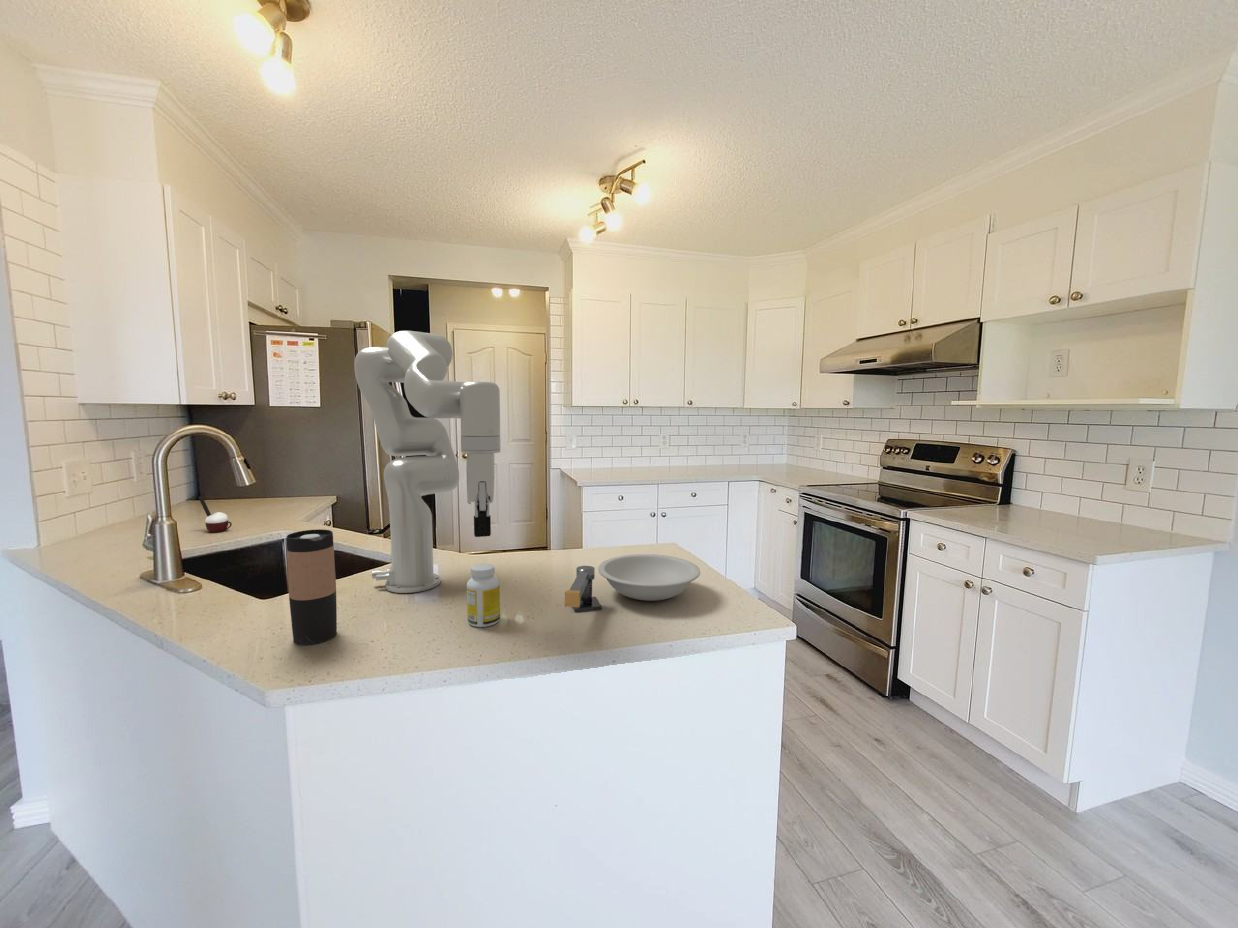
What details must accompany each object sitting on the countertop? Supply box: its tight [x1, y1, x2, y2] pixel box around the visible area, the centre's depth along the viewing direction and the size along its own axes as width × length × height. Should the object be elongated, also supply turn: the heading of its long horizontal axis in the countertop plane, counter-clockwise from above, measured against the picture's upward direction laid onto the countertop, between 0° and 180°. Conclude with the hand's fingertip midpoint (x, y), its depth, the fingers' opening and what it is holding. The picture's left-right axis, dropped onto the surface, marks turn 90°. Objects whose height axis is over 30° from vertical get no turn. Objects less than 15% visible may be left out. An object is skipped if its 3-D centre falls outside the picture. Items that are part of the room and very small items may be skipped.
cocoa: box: [198, 496, 233, 534], centre depth 177 cm, size 10×6×12 cm, turn 73°
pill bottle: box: [466, 563, 501, 628], centre depth 105 cm, size 6×6×12 cm
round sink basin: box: [597, 553, 701, 602], centre depth 122 cm, size 24×24×7 cm
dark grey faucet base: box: [571, 580, 603, 613], centre depth 114 cm, size 6×6×6 cm
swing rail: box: [564, 565, 596, 608], centre depth 107 cm, size 18×4×3 cm, turn 175°
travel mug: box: [285, 528, 338, 646], centre depth 97 cm, size 8×8×20 cm
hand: (482, 535), depth 104 cm, fingers closed
